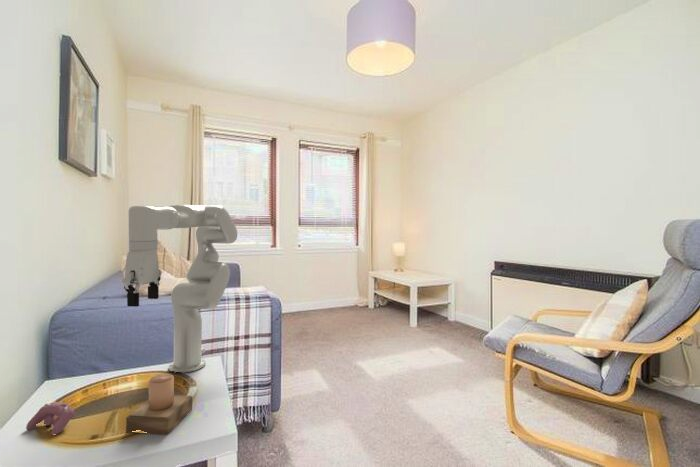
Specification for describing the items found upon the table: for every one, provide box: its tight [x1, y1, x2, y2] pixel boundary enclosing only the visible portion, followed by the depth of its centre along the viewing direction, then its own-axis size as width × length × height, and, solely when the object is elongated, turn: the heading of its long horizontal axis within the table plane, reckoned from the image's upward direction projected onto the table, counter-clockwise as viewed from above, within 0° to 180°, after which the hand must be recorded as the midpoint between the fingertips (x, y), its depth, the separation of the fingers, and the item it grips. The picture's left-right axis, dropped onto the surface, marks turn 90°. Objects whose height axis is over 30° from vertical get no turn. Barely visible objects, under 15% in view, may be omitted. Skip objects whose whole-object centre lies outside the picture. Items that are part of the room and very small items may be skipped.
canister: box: [148, 373, 175, 410], centre depth 94 cm, size 6×6×7 cm
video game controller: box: [26, 401, 75, 435], centre depth 90 cm, size 10×5×7 cm, turn 76°
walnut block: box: [125, 394, 193, 436], centre depth 94 cm, size 12×11×4 cm
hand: (143, 302), depth 105 cm, fingers open, 9 cm apart
